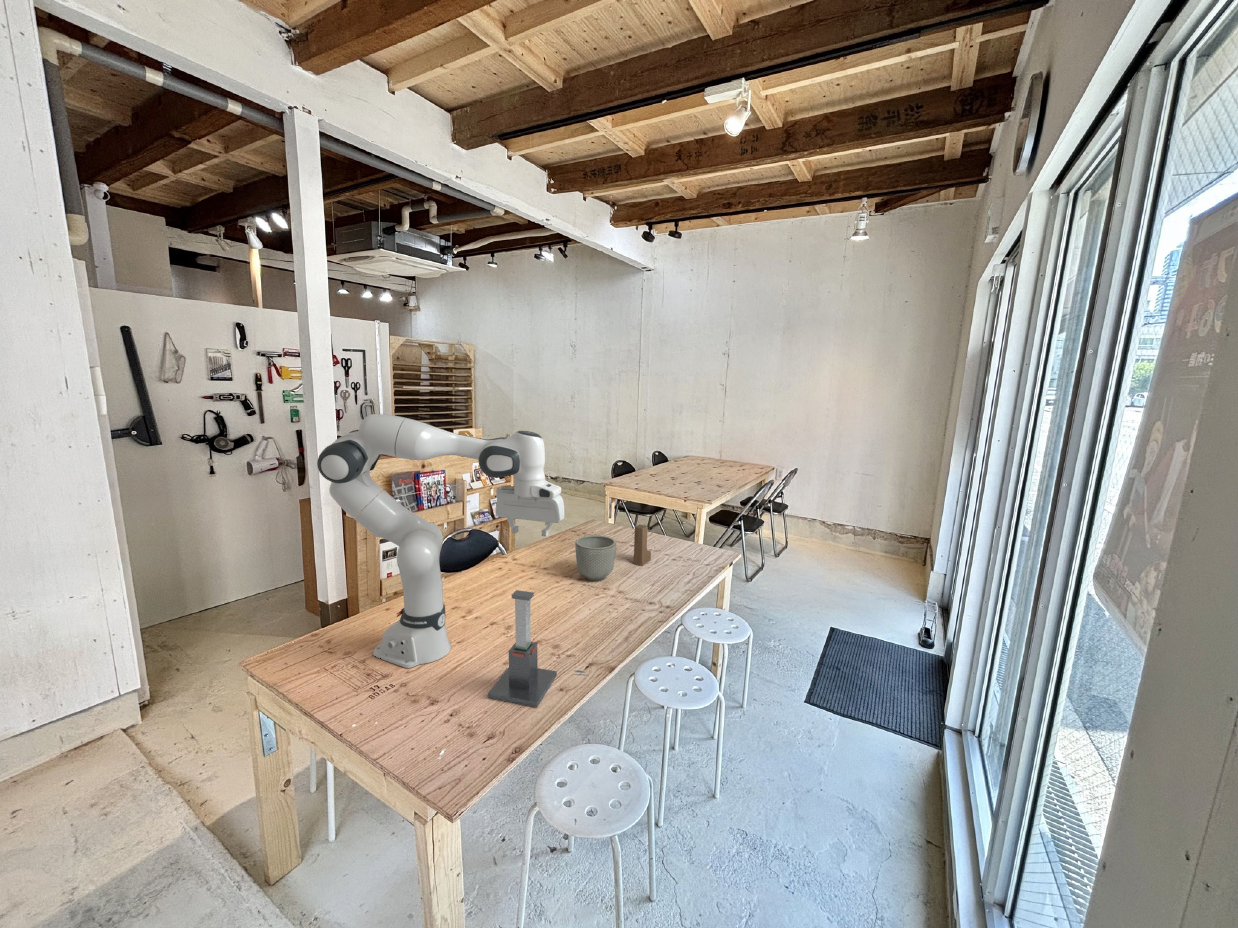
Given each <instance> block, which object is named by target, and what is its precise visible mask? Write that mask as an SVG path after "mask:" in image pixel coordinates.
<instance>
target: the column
mask: <svg viewBox="0 0 1238 928" xmlns="http://www.w3.org/2000/svg"><path fill="white" fill-rule="evenodd" d="M534 594H535V593H534V592H533V591H524V590H517V589H516V590H515V591H514V592H513V593H512V594H511V600H514V608H515V609H514V611H515V612H514V613H515V615H514V616H515V618H514V623H515V624H514V625H515V629H514V630H515V643H516V647H515V650H520V651H526V652H527V651H528V649H529V648H530V647H531V642H532V641H531V640H532V639H531V634H532V633H531V627H532V626H531V600H532V599H533V598H534V597H535V595H534Z"/></svg>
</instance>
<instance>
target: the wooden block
mask: <svg viewBox="0 0 1238 928" xmlns="http://www.w3.org/2000/svg"><path fill="white" fill-rule="evenodd" d="M648 528H649V527H648V525H645V524H644V525H643V524H638V525H635V526H634V539H633V540H634V541H633V549H634V550H633V565H636V566H640V567H643V566H644V565H646V564H647V563H648V562H650V561H651V560H652V557H651V556H652V551H651V550H648Z"/></svg>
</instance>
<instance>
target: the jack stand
mask: <svg viewBox="0 0 1238 928" xmlns="http://www.w3.org/2000/svg"><path fill="white" fill-rule="evenodd" d="M515 647H516V642H514V644H513V645H512V647H511V648H510V649H509V650H508V667H507V668H506V669H505V671H504V672H503V673H502V674H501V676H500V677H499V679H498V680H497V681H496V682H495V683H494V685H493V686H492V687H491V688H490V690H489V691H488V692H487V698H488V699H491V700H497V701H500V702H501V701H502V702H508V703H511V704H518V705H522V706H526V707H527V706H528V707H533V708H538V707H539V705H540V704H541V702H542V701H543V699H544V698H545V696H546V694H548V693H547V692H548V691H549V689H550V688H551V686H552V684H553V683H554V681H555V679H556V677H557V676H558V675H557V672H558V670H550V669H546V668H545V669H544V668H539V667H538V665H539V663H538V661H539V659H538V642H534V641H531V647H530V648H529V649H528V651H527V652H526V651H520V650H515Z"/></svg>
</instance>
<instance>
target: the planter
mask: <svg viewBox="0 0 1238 928" xmlns="http://www.w3.org/2000/svg"><path fill="white" fill-rule="evenodd" d="M574 547H575V548H574V549H575V561H576V567H577V570H578V572H579V573H580V574H581V575H582V576H583V577H584V578H585V580H587V581H589V582H590V581H591V582H601V581H604V579H606V577H608V576H609V575H610V574H611V573H612V572H613V570H614V567H615V560H616V554H617V553H616V551H617V541H616V539H614V538H613V537H610V536H606V535H600V534H598V535H597V534H594V535H593V534H592V535H585V536H581V537H579V538H577V539H576V540H575V545H574Z"/></svg>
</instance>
